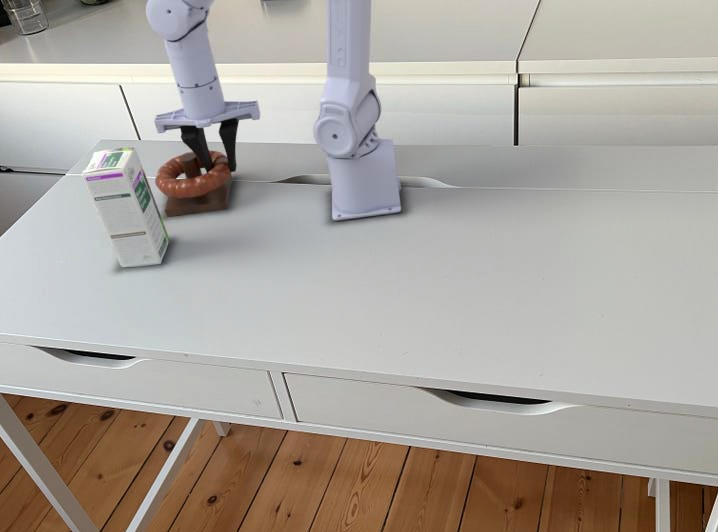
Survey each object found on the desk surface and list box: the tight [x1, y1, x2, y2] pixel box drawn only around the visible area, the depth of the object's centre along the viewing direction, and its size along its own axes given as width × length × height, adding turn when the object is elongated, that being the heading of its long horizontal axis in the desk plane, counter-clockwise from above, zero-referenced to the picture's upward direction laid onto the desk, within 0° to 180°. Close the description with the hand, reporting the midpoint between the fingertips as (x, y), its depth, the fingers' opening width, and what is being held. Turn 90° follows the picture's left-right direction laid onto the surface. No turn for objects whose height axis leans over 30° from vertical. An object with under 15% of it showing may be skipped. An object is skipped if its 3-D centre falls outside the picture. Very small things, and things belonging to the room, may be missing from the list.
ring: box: [154, 149, 232, 199], centre depth 113 cm, size 11×11×3 cm
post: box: [164, 152, 233, 218], centre depth 114 cm, size 9×9×7 cm
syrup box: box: [80, 147, 170, 268], centre depth 101 cm, size 6×6×14 cm
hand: (222, 170), depth 113 cm, fingers closed on ring, 3 cm apart
